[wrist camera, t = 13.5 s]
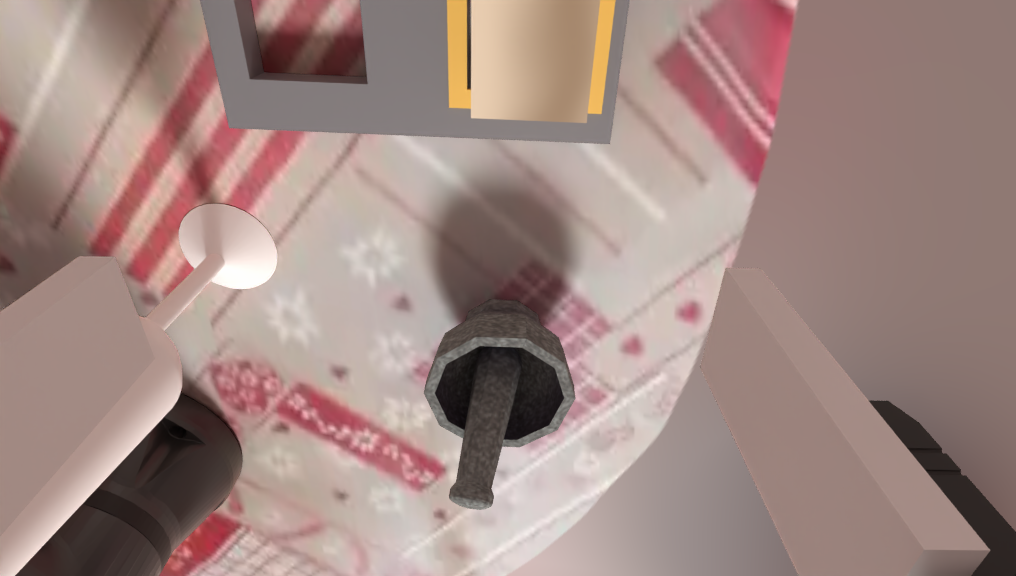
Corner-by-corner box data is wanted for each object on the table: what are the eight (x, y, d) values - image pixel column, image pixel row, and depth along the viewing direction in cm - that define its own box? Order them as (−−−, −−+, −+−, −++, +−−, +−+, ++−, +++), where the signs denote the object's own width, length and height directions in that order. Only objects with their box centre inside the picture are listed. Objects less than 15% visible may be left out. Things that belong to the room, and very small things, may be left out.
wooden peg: (486, 63, 32) (470, 118, 21) (488, -28, 29) (471, -14, 19) (564, 66, 32) (586, 123, 21) (572, -24, 29) (601, -8, 19)
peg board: (244, 118, 34) (226, 129, 32) (191, -127, 27) (166, -133, 25) (605, 134, 34) (610, 145, 32) (636, -108, 27) (645, -112, 25)
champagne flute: (164, 202, 37) (-285, 525, 16) (265, 203, 36) (-58, 529, 16) (194, 288, 40) (-143, 643, 20) (286, 289, 40) (43, 647, 20)
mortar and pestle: (462, 260, 38) (441, 373, 28) (586, 299, 40) (608, 420, 30) (420, 376, 44) (390, 505, 34) (530, 407, 46) (533, 539, 35)
